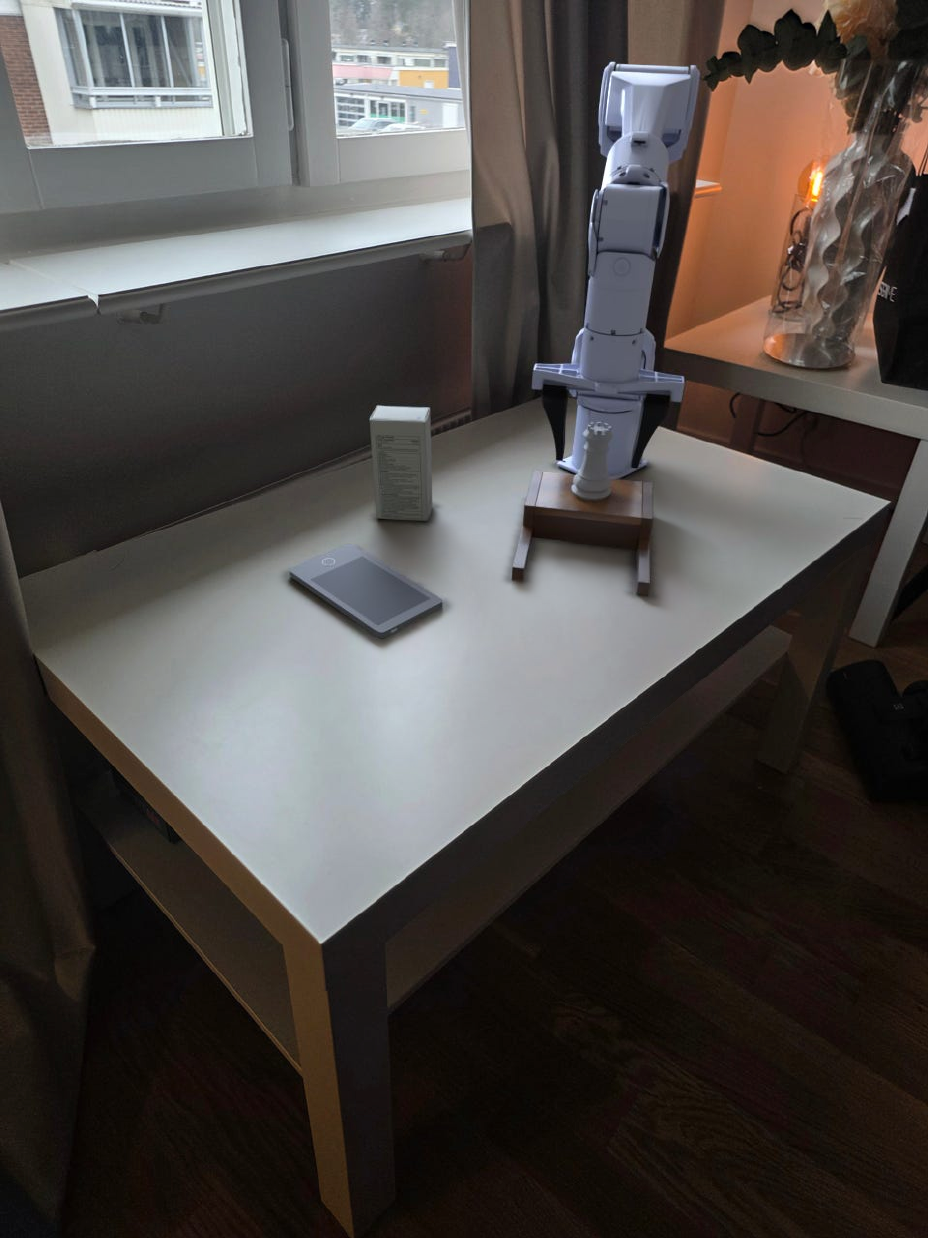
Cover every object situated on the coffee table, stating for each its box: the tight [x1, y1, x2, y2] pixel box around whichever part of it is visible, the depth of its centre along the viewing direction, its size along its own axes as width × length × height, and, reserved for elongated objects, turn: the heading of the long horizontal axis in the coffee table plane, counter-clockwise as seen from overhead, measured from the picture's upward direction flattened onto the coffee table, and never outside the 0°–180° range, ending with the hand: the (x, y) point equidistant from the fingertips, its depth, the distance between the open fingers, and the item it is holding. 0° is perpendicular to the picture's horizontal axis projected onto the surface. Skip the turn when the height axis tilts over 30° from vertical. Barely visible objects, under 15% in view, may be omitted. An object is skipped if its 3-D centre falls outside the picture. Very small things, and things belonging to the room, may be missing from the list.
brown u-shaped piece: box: [511, 470, 654, 596], centre depth 92 cm, size 18×14×4 cm
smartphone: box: [289, 543, 443, 639], centre depth 84 cm, size 15×8×1 cm, turn 44°
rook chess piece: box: [572, 422, 613, 501], centre depth 92 cm, size 4×4×8 cm
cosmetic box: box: [369, 405, 433, 522], centre depth 95 cm, size 6×4×12 cm
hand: (597, 460), depth 87 cm, fingers open, 7 cm apart
